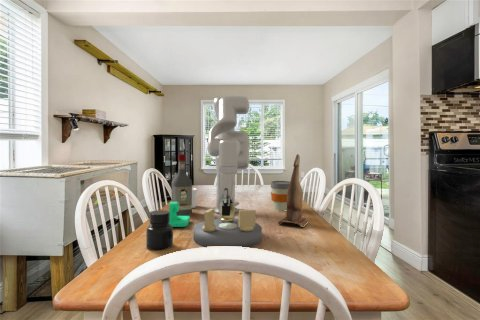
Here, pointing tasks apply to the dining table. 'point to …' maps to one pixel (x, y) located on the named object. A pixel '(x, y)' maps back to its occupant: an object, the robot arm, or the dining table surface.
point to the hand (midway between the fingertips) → (227, 212)
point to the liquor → (182, 189)
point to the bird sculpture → (294, 198)
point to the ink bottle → (159, 231)
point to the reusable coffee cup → (279, 194)
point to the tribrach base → (228, 230)
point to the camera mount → (177, 220)
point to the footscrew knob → (232, 213)
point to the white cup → (194, 197)
